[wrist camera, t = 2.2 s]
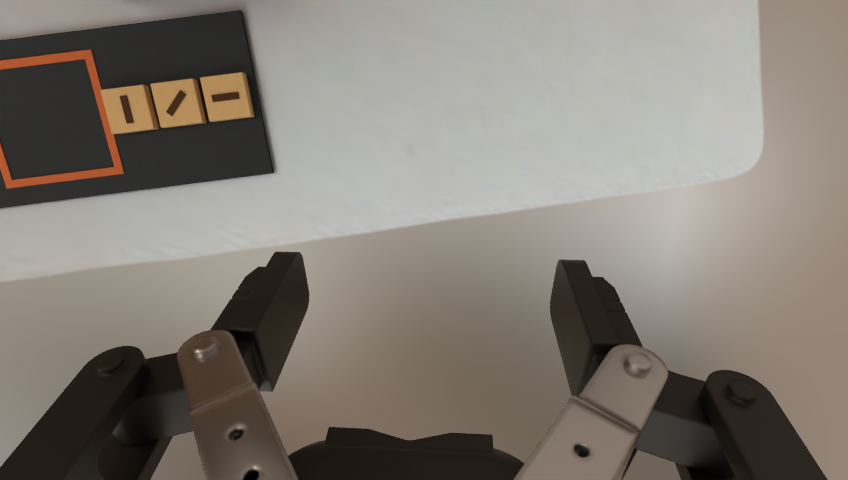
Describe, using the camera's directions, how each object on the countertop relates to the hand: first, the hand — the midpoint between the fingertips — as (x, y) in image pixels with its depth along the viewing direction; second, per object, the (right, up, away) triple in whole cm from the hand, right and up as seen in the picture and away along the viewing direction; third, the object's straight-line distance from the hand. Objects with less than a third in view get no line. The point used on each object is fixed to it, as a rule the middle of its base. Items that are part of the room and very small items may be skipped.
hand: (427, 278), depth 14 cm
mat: (-25, +11, +20) cm, 34 cm away
